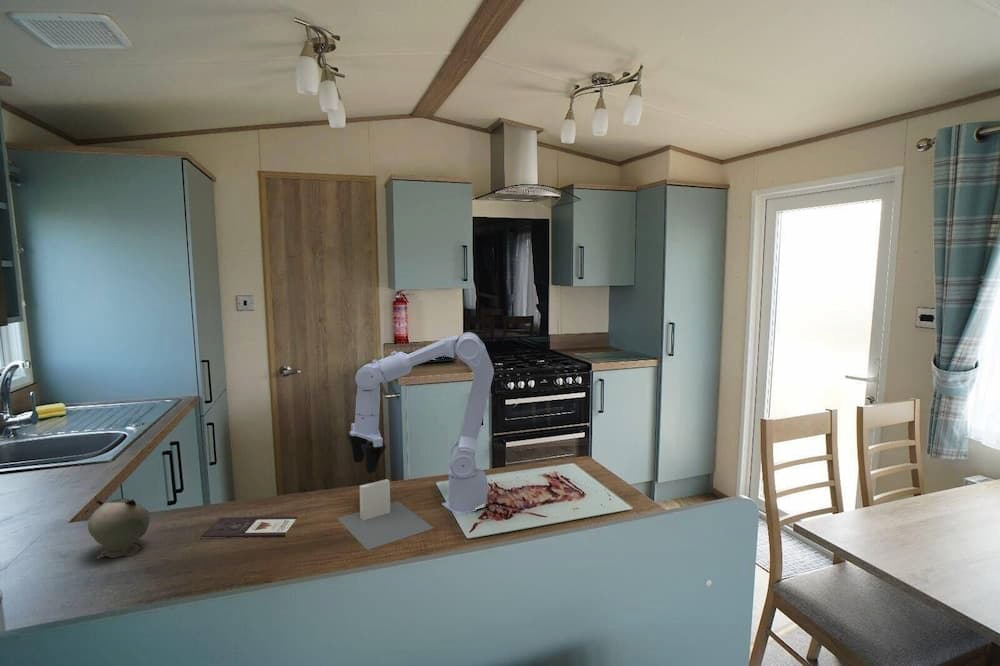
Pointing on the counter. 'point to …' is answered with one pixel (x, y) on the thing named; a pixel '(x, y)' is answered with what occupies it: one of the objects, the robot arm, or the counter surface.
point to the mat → (385, 526)
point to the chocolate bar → (250, 527)
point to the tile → (374, 499)
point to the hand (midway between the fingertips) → (364, 466)
